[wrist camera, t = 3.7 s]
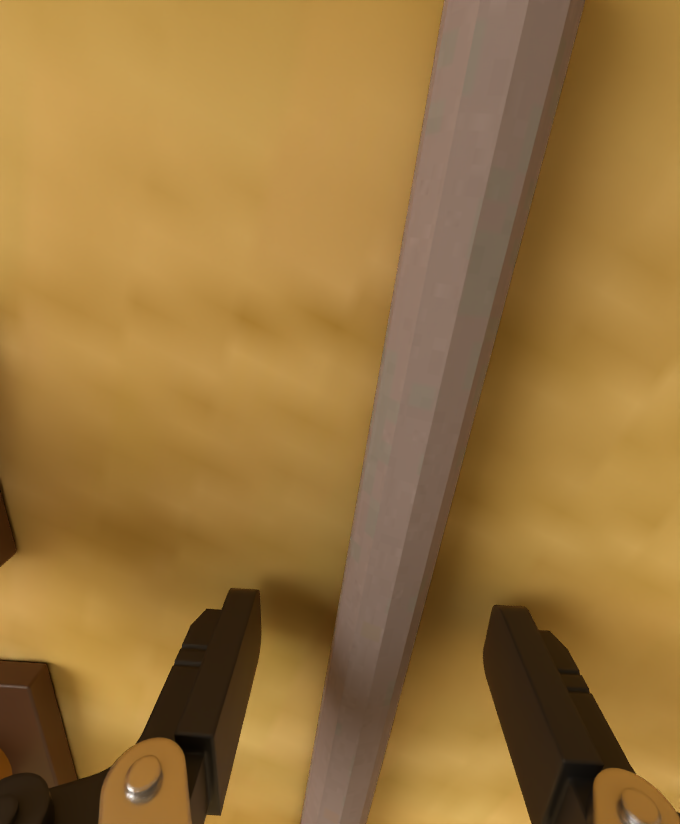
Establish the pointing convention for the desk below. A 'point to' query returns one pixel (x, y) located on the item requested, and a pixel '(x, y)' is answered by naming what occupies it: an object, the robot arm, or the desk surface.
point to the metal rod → (435, 362)
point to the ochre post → (32, 725)
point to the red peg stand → (5, 536)
